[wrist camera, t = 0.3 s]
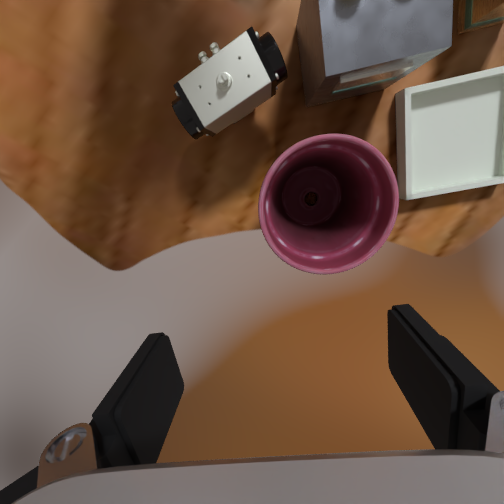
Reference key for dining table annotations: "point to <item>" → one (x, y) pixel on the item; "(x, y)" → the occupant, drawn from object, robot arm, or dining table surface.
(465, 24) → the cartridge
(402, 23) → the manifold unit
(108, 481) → the robot arm
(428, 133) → the tray
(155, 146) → the dining table surface
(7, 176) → the dining table surface
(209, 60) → the pneumatic valve
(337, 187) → the plant pot
